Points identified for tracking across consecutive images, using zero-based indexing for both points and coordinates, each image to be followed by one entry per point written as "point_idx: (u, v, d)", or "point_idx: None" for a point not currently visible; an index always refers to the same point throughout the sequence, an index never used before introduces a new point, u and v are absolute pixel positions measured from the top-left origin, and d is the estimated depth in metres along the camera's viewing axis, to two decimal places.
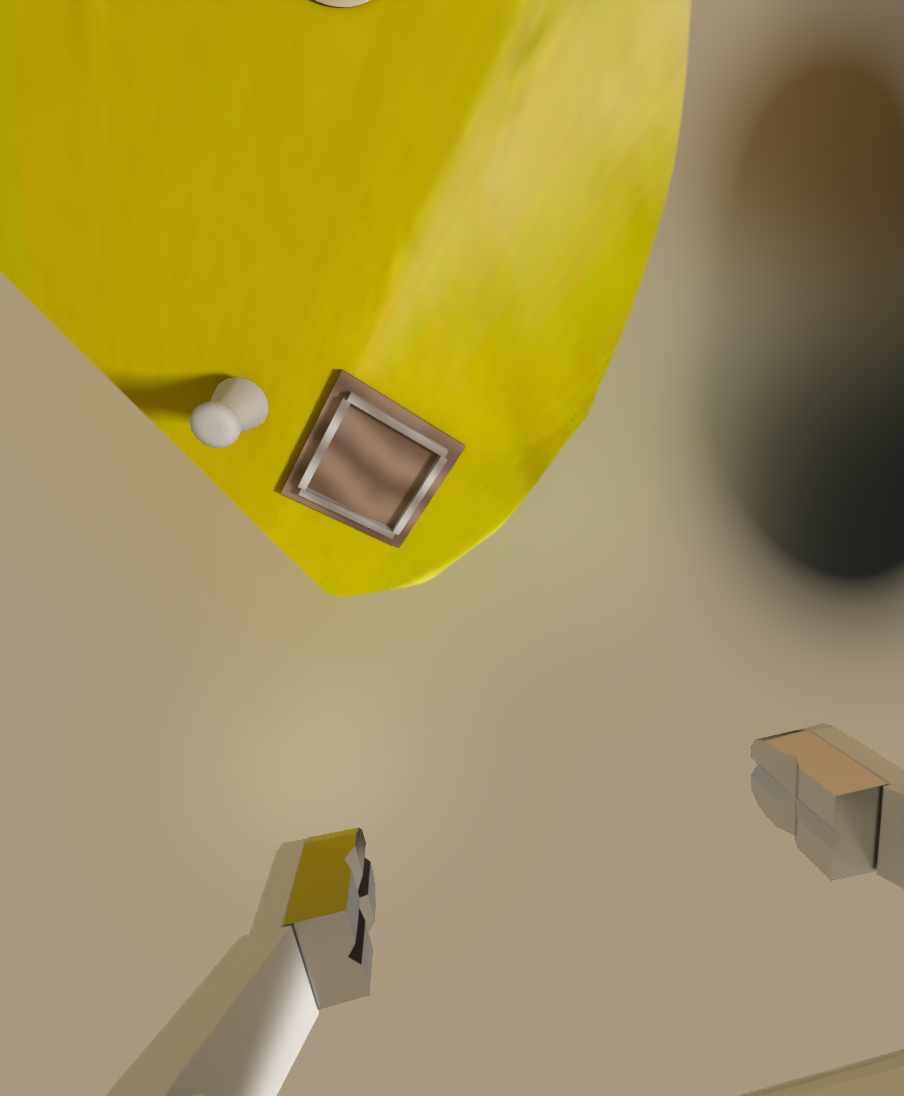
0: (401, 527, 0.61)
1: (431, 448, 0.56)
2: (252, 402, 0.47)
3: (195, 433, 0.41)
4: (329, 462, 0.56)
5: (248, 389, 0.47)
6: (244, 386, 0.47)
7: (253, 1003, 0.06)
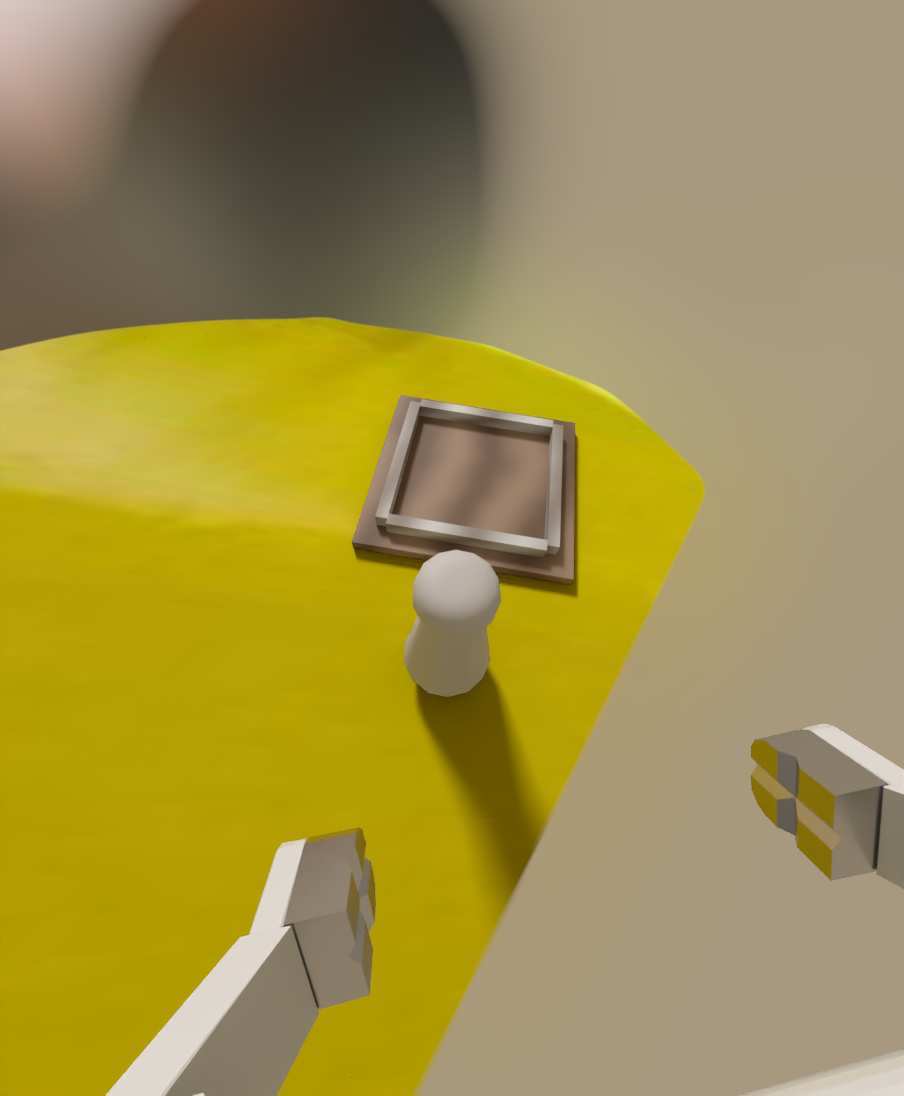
0: (540, 420, 0.41)
1: (413, 417, 0.40)
2: None
3: (483, 611, 0.19)
4: (490, 527, 0.36)
5: None
6: (408, 637, 0.27)
7: (253, 1003, 0.06)
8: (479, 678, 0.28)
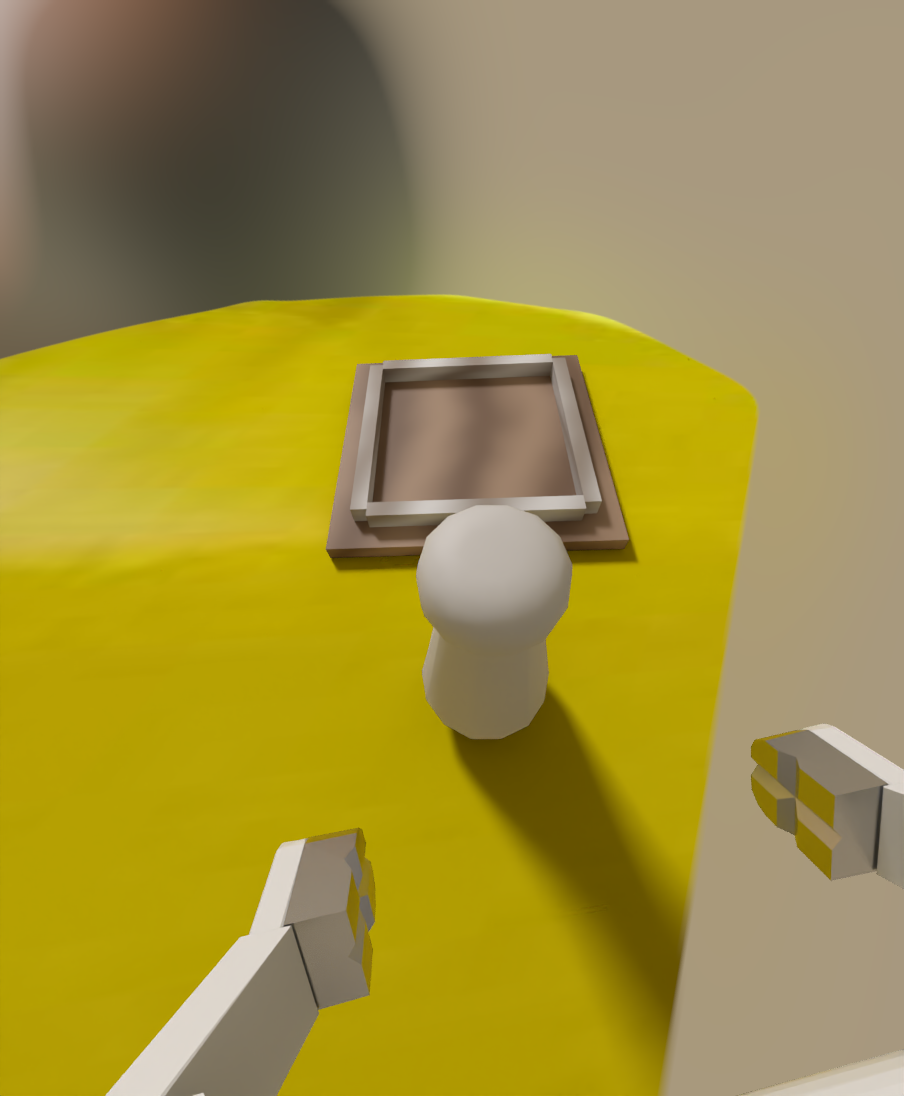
0: (534, 356, 0.33)
1: (377, 382, 0.32)
2: None
3: (551, 597, 0.11)
4: (504, 495, 0.27)
5: None
6: (426, 663, 0.18)
7: (253, 1003, 0.06)
8: (540, 702, 0.19)
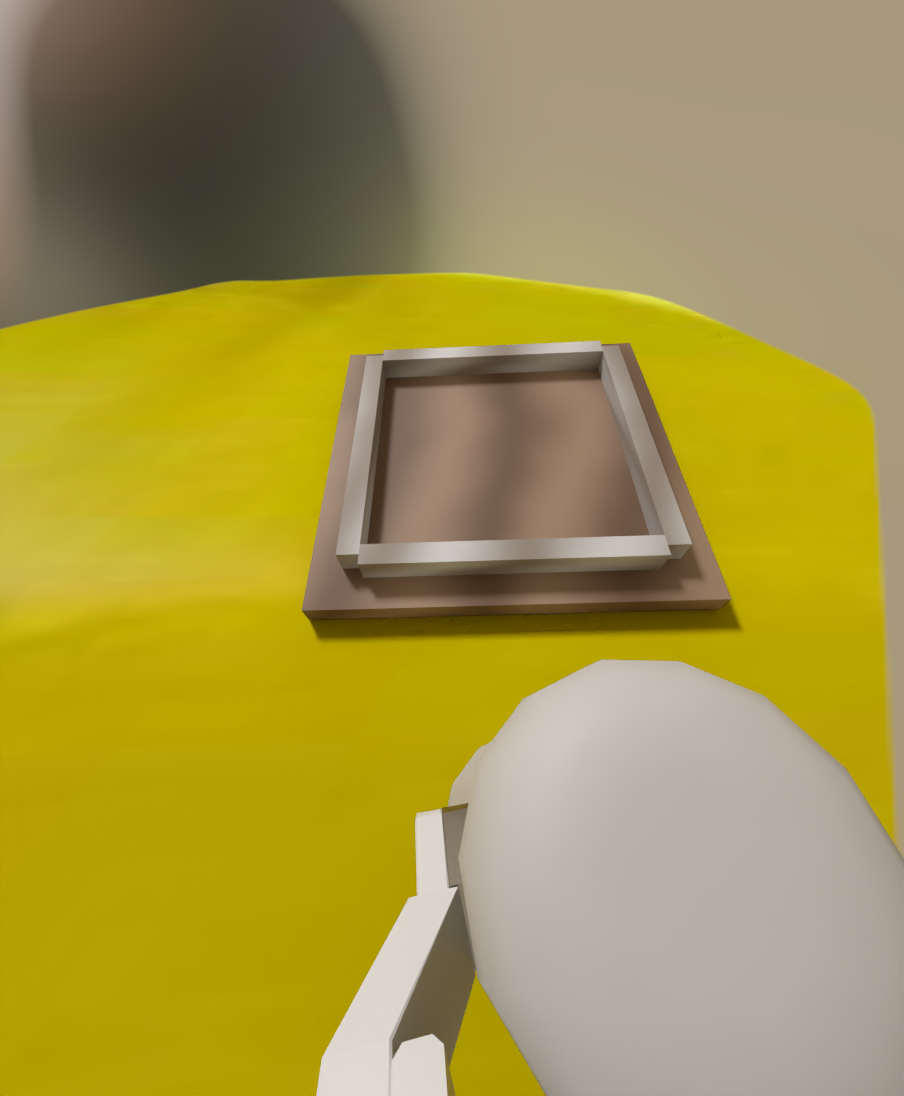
0: (579, 344, 0.25)
1: (376, 378, 0.25)
2: None
3: None
4: (548, 532, 0.20)
5: None
6: None
7: (439, 958, 0.06)
8: None
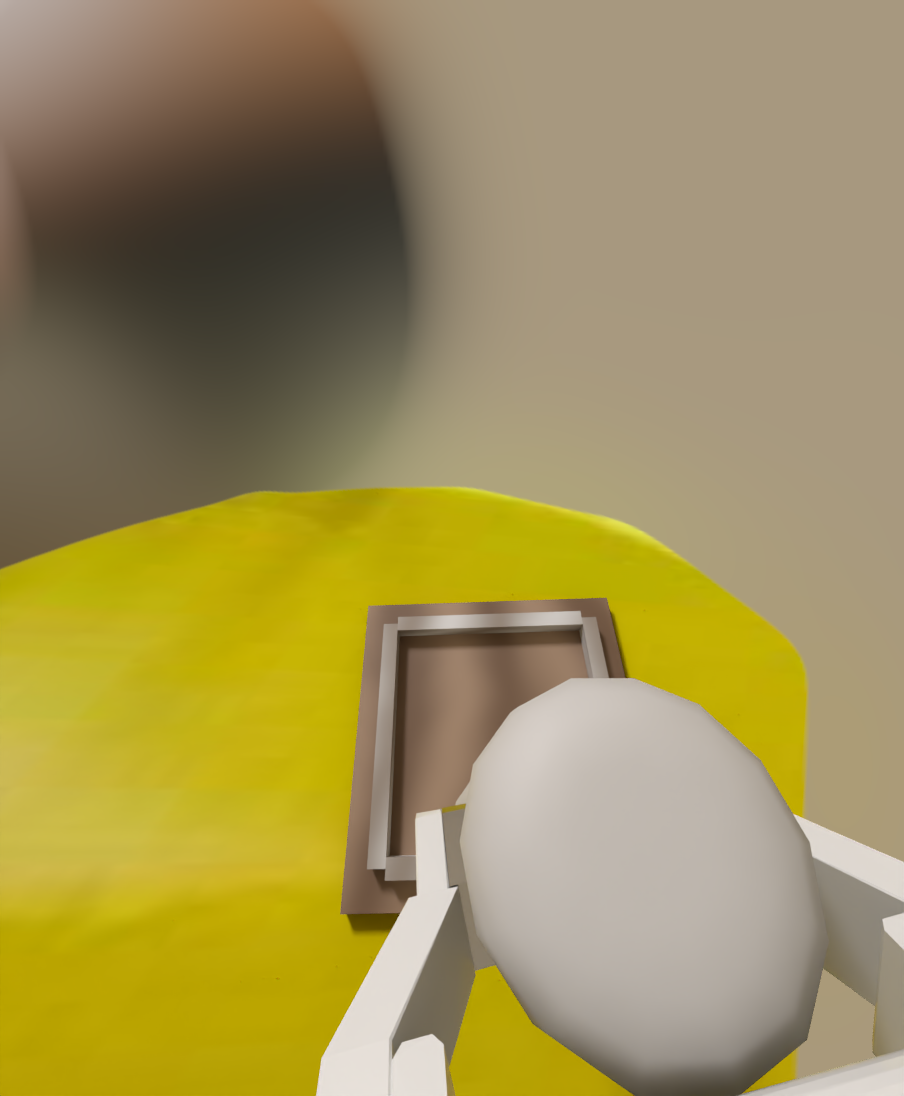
0: (562, 615, 0.30)
1: (392, 653, 0.29)
2: None
3: (805, 972, 0.04)
4: None
5: None
6: None
7: (439, 958, 0.06)
8: None
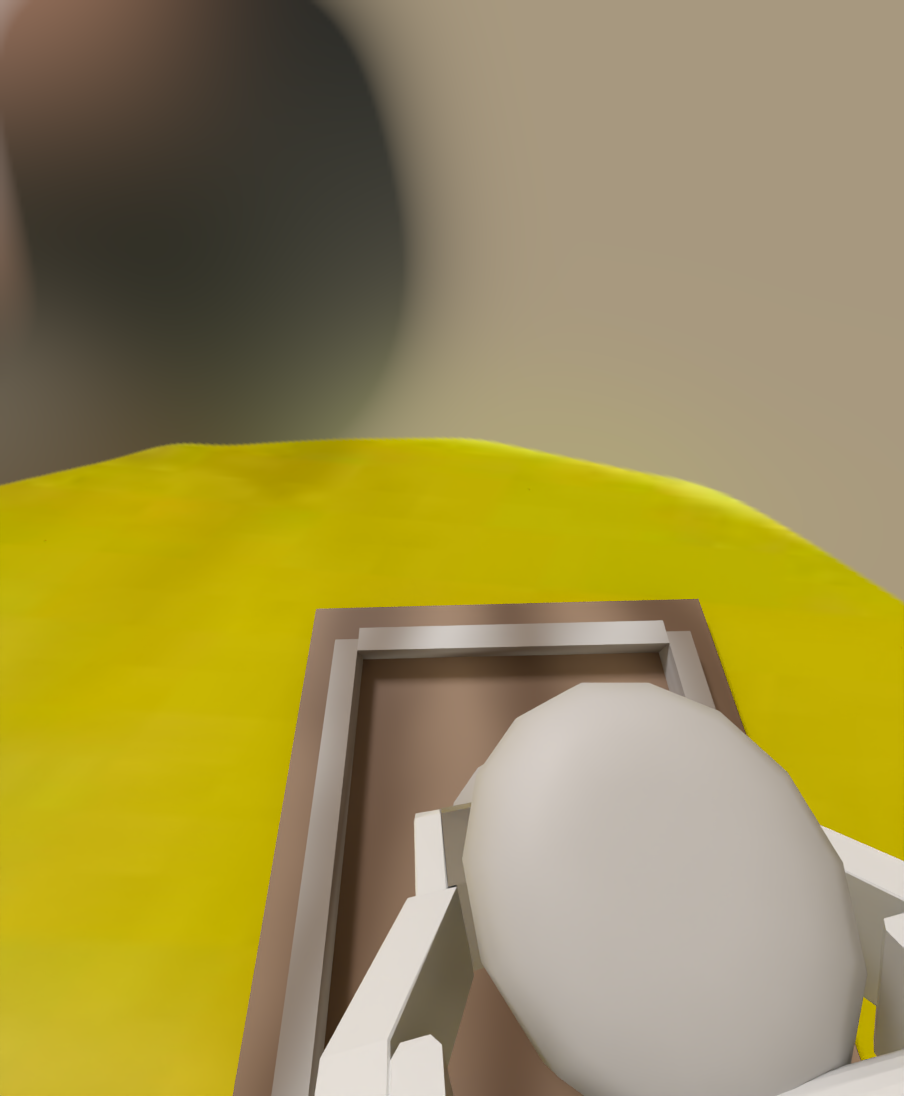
0: (633, 627, 0.18)
1: (346, 690, 0.17)
2: None
3: (845, 1009, 0.04)
4: None
5: None
6: None
7: (437, 958, 0.06)
8: None
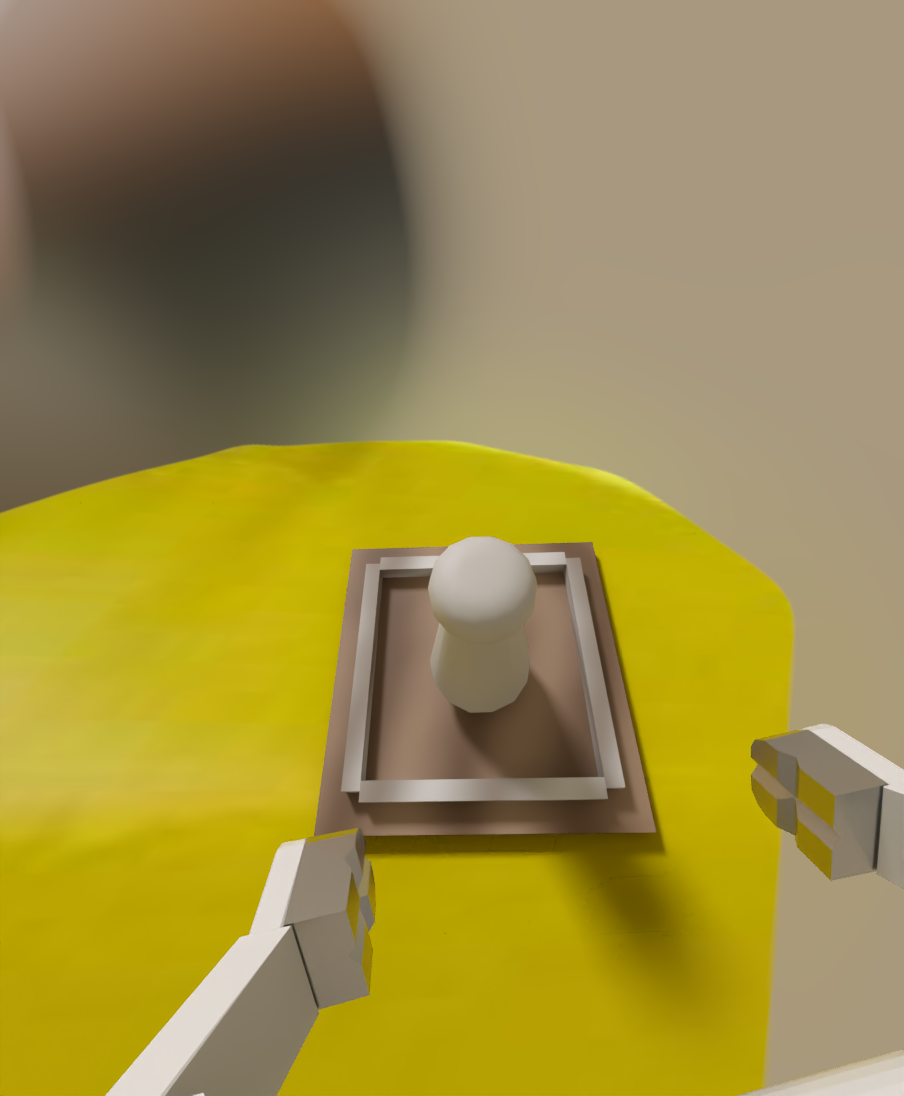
0: (546, 555, 0.30)
1: (374, 590, 0.29)
2: None
3: (520, 602, 0.16)
4: (513, 757, 0.24)
5: None
6: (433, 653, 0.23)
7: (253, 1003, 0.06)
8: (523, 683, 0.24)
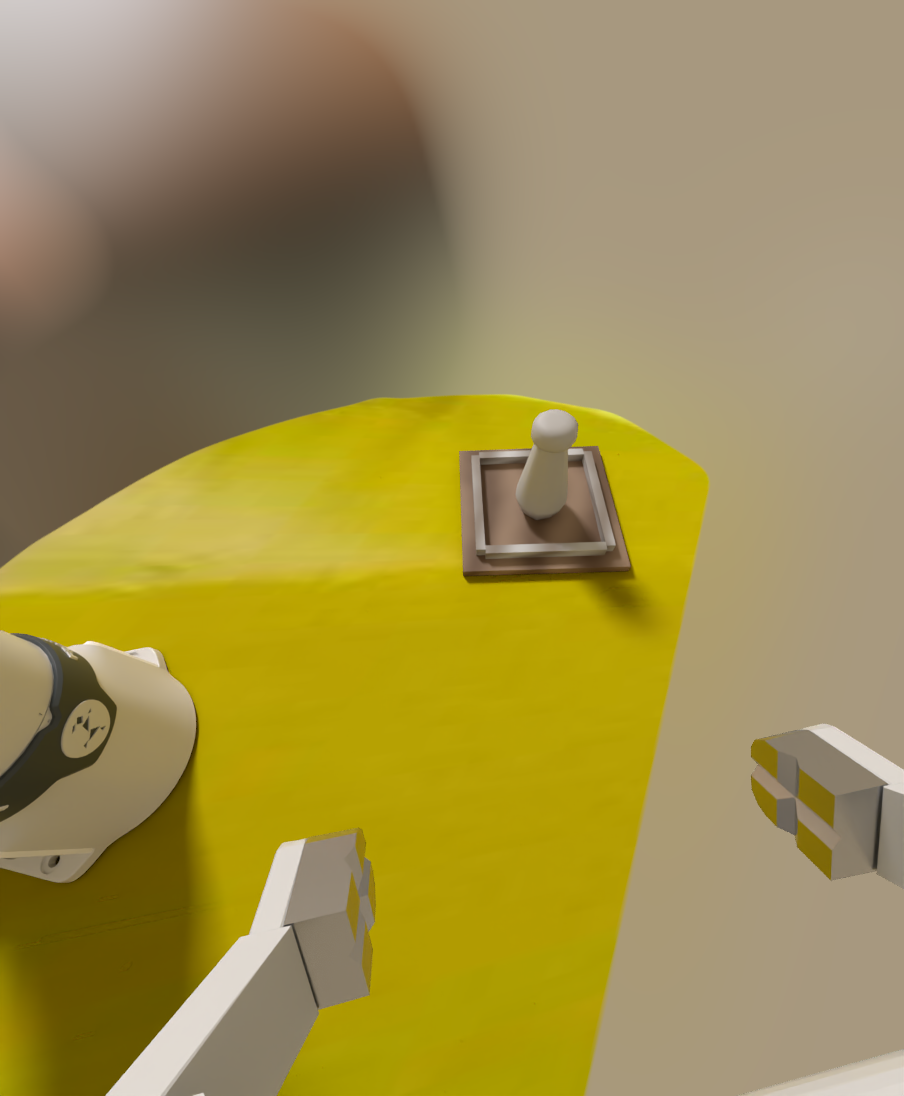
0: (572, 450, 0.54)
1: (478, 467, 0.53)
2: None
3: (572, 430, 0.39)
4: (559, 540, 0.48)
5: (520, 480, 0.47)
6: (520, 484, 0.47)
7: (253, 1003, 0.06)
8: (565, 499, 0.47)
